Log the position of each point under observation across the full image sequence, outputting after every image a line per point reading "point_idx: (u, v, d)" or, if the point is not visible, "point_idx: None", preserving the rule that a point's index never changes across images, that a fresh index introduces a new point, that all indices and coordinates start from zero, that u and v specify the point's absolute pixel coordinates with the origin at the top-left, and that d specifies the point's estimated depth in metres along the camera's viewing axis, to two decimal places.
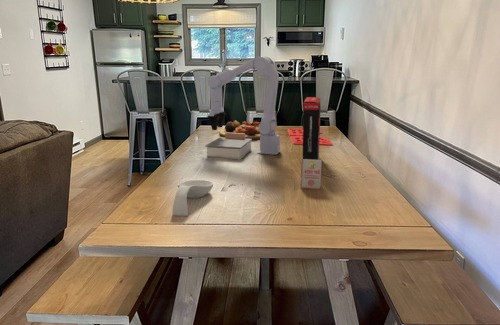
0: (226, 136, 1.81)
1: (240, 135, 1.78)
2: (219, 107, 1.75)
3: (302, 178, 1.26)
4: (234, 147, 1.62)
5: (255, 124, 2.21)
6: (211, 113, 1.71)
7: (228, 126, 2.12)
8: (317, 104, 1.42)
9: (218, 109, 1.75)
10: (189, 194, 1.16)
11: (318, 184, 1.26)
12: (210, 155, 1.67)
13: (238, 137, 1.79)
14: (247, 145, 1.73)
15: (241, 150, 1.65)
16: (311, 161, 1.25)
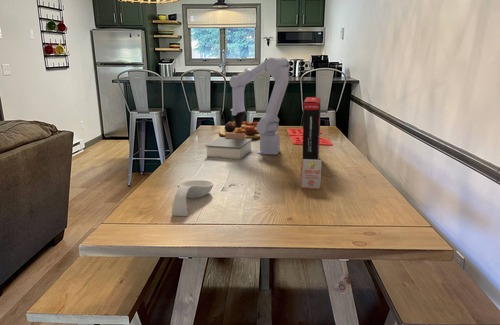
0: (226, 136, 1.81)
1: (240, 135, 1.78)
2: (241, 106, 1.79)
3: (302, 178, 1.26)
4: (234, 147, 1.62)
5: (255, 124, 2.21)
6: (233, 112, 1.75)
7: (228, 126, 2.12)
8: (317, 104, 1.42)
9: (240, 108, 1.79)
10: (189, 194, 1.16)
11: (318, 184, 1.26)
12: (210, 155, 1.67)
13: (238, 137, 1.79)
14: (247, 145, 1.73)
15: (241, 150, 1.65)
16: (311, 161, 1.25)
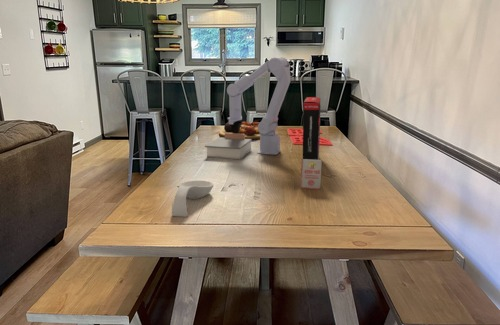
0: (225, 136, 1.80)
1: (240, 135, 1.78)
2: (238, 115, 1.76)
3: (302, 178, 1.26)
4: (233, 147, 1.62)
5: (254, 124, 2.21)
6: (230, 121, 1.72)
7: (227, 126, 2.12)
8: (317, 104, 1.42)
9: (237, 117, 1.76)
10: (189, 195, 1.16)
11: (318, 184, 1.26)
12: (210, 155, 1.67)
13: (238, 137, 1.78)
14: (247, 145, 1.73)
15: (241, 150, 1.65)
16: (311, 161, 1.25)
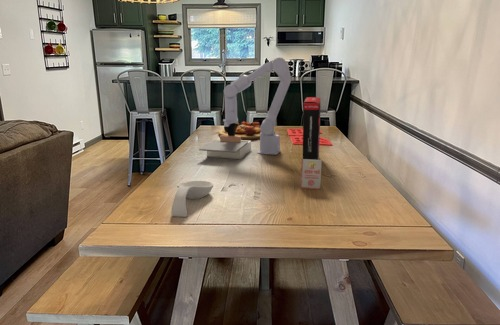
0: (221, 139, 1.74)
1: (235, 138, 1.72)
2: (234, 117, 1.70)
3: (302, 178, 1.26)
4: (229, 151, 1.56)
5: (254, 124, 2.21)
6: (226, 123, 1.66)
7: None
8: (317, 104, 1.42)
9: (233, 119, 1.70)
10: (189, 195, 1.16)
11: (318, 184, 1.26)
12: (210, 155, 1.67)
13: (233, 140, 1.72)
14: (247, 145, 1.73)
15: (241, 150, 1.65)
16: (311, 161, 1.25)
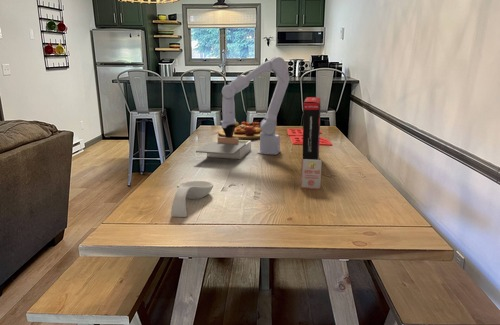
0: (218, 141, 1.71)
1: (233, 140, 1.69)
2: (231, 118, 1.67)
3: (302, 178, 1.26)
4: (226, 153, 1.53)
5: (254, 124, 2.21)
6: (223, 125, 1.63)
7: None
8: (317, 104, 1.42)
9: (230, 120, 1.67)
10: (189, 195, 1.16)
11: (318, 184, 1.26)
12: (210, 155, 1.67)
13: (231, 142, 1.69)
14: (247, 145, 1.73)
15: (241, 150, 1.65)
16: (311, 161, 1.25)
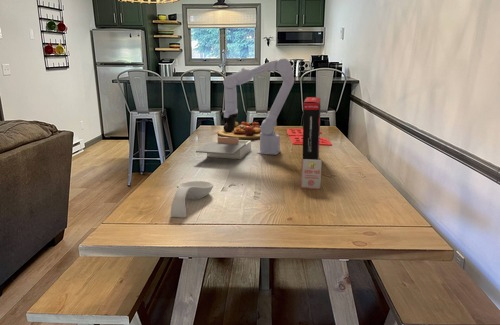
0: (218, 141, 1.71)
1: (233, 140, 1.69)
2: (234, 108, 1.69)
3: (302, 178, 1.26)
4: (226, 153, 1.53)
5: (254, 124, 2.21)
6: (226, 114, 1.65)
7: (226, 126, 2.12)
8: (317, 104, 1.42)
9: (233, 110, 1.69)
10: (188, 195, 1.15)
11: (318, 184, 1.26)
12: (210, 155, 1.67)
13: (231, 142, 1.69)
14: (247, 145, 1.73)
15: (241, 150, 1.65)
16: (311, 161, 1.25)
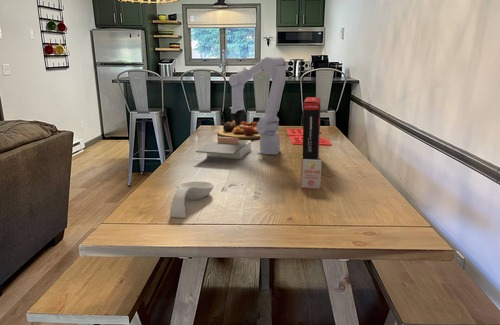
0: (218, 141, 1.71)
1: (233, 140, 1.69)
2: (240, 105, 1.81)
3: (302, 178, 1.26)
4: (226, 153, 1.53)
5: (253, 124, 2.21)
6: (233, 110, 1.77)
7: (226, 126, 2.12)
8: (317, 104, 1.42)
9: (239, 106, 1.81)
10: (188, 195, 1.15)
11: (318, 184, 1.26)
12: (210, 155, 1.67)
13: (231, 142, 1.69)
14: (247, 145, 1.73)
15: (241, 150, 1.65)
16: (311, 161, 1.25)
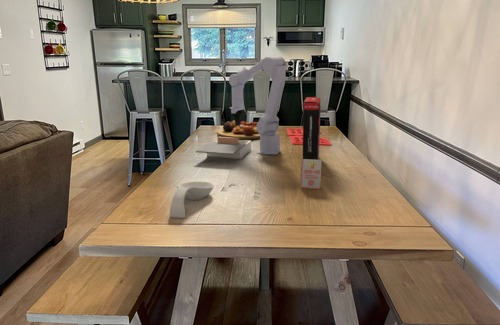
0: (218, 141, 1.71)
1: (233, 140, 1.69)
2: (240, 105, 1.81)
3: (302, 178, 1.26)
4: (226, 153, 1.53)
5: (253, 124, 2.21)
6: (233, 110, 1.77)
7: (226, 126, 2.12)
8: (317, 104, 1.42)
9: (239, 106, 1.81)
10: (188, 196, 1.15)
11: (318, 184, 1.26)
12: (210, 155, 1.67)
13: (231, 142, 1.69)
14: (247, 145, 1.73)
15: (241, 150, 1.65)
16: (311, 161, 1.25)
